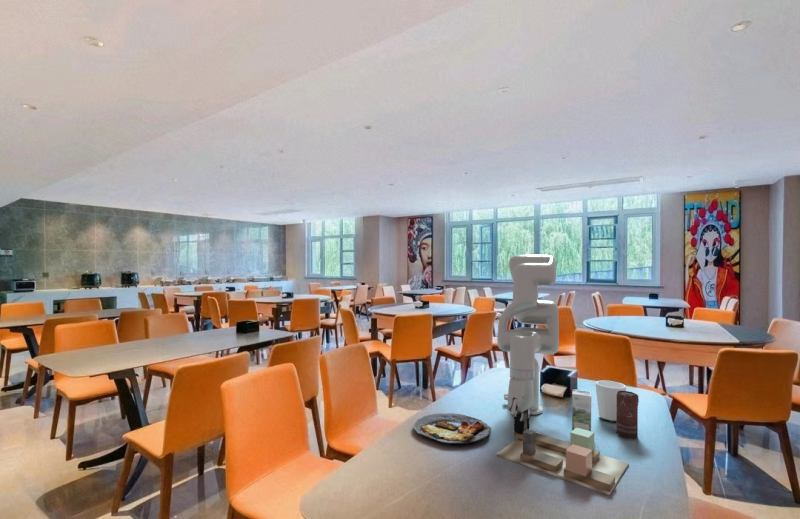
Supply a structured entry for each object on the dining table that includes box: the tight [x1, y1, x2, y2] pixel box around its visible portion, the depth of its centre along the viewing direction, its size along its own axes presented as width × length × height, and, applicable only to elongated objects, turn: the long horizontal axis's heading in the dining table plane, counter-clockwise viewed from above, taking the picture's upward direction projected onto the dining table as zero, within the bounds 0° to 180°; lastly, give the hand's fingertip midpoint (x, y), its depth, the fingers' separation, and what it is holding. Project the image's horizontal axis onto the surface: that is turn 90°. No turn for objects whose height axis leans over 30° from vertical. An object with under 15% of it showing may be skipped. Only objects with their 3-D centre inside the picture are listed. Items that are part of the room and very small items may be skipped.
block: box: [566, 444, 592, 476], centre depth 105 cm, size 5×5×5 cm
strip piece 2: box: [564, 467, 615, 492], centre depth 103 cm, size 11×5×2 cm, turn 49°
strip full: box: [513, 412, 601, 463], centre depth 122 cm, size 24×5×8 cm, turn 48°
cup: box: [595, 379, 627, 423], centre depth 146 cm, size 10×10×13 cm
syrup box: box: [571, 388, 592, 432], centre depth 131 cm, size 6×6×14 cm
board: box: [496, 438, 630, 496], centre depth 115 cm, size 30×20×1 cm, turn 49°
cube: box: [570, 428, 595, 451], centre depth 116 cm, size 5×5×5 cm
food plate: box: [413, 412, 492, 445], centre depth 134 cm, size 25×23×4 cm
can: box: [615, 390, 640, 440], centre depth 132 cm, size 6×6×14 cm
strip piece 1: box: [520, 428, 563, 472], centre depth 112 cm, size 10×5×8 cm, turn 49°
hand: (521, 430), depth 128 cm, fingers closed on strip full, 3 cm apart
